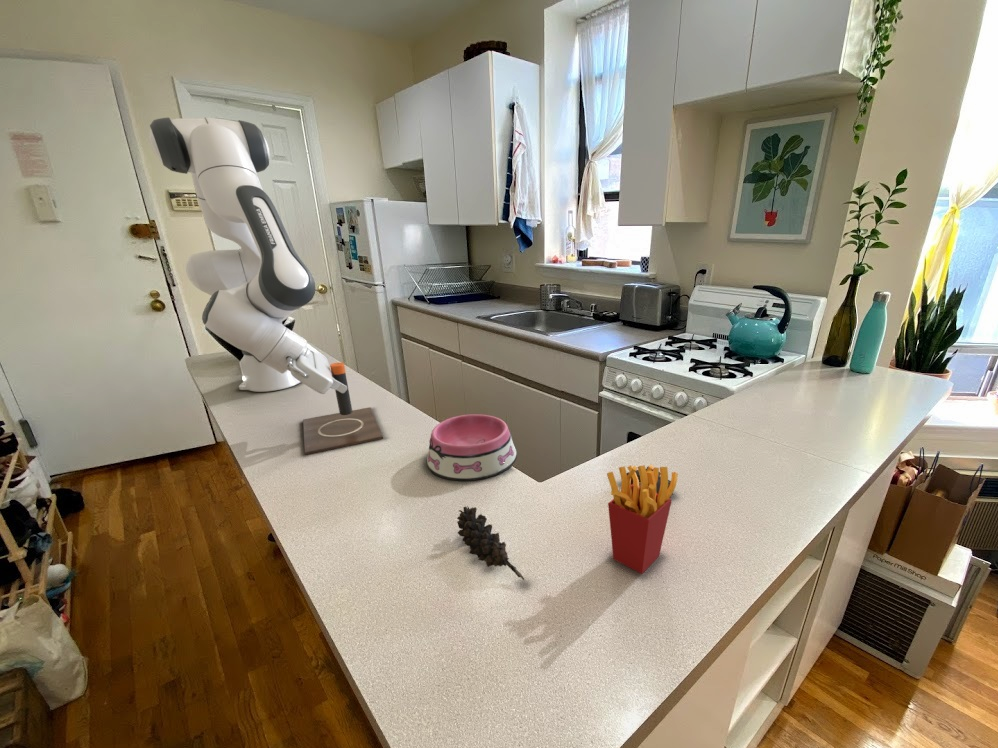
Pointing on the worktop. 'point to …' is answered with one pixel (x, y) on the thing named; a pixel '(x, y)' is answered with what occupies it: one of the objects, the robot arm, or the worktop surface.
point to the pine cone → (483, 539)
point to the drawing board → (340, 430)
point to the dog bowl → (470, 448)
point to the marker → (342, 398)
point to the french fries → (639, 515)
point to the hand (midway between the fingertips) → (344, 387)
